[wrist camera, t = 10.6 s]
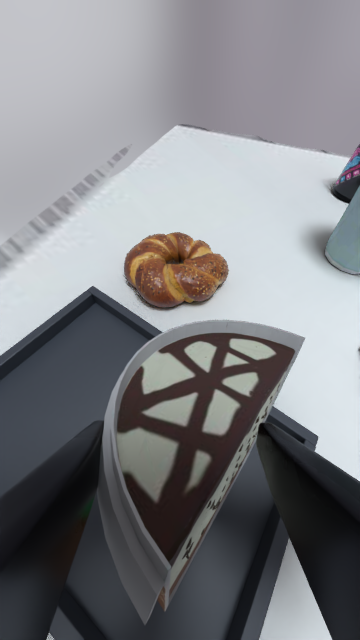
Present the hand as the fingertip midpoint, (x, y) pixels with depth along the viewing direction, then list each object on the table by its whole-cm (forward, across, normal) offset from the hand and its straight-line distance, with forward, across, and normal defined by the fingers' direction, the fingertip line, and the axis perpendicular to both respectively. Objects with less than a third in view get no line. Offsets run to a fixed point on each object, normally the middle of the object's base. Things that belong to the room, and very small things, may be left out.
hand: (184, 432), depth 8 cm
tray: (+8, +4, +7) cm, 11 cm away
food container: (+5, 0, +8) cm, 9 cm away
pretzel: (+21, 0, -5) cm, 21 cm away
